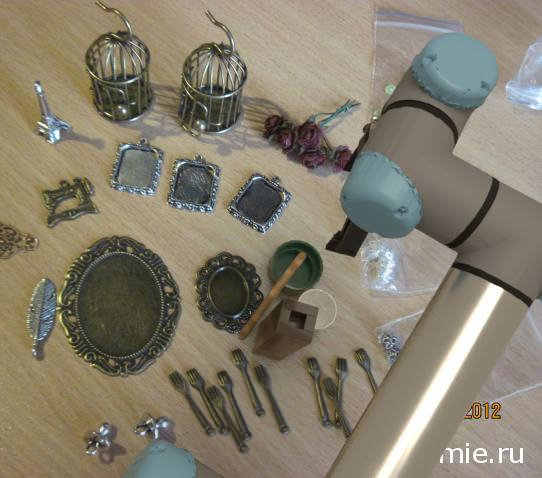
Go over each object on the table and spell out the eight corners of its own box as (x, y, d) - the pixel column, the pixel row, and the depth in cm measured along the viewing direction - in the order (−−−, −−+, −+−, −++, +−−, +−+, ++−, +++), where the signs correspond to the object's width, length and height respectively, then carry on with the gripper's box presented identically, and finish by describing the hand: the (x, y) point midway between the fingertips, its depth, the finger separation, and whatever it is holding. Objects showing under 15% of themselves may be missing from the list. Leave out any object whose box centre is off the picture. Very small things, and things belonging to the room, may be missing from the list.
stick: (309, 255, 110) (244, 341, 113) (304, 252, 111) (240, 337, 114) (304, 253, 109) (239, 339, 112) (300, 249, 110) (235, 335, 113)
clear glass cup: (323, 302, 117) (337, 291, 108) (322, 339, 115) (336, 331, 105) (287, 297, 117) (298, 286, 107) (285, 334, 114) (295, 326, 105)
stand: (279, 361, 112) (311, 343, 88) (251, 352, 112) (275, 332, 88) (286, 332, 114) (319, 307, 90) (258, 324, 114) (284, 297, 90)
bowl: (309, 302, 117) (317, 296, 111) (261, 288, 117) (266, 281, 111) (320, 256, 121) (327, 248, 115) (273, 243, 121) (279, 234, 115)
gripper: (385, 47, 68) (335, 133, 88) (346, 228, 60) (301, 277, 80) (443, 65, 68) (380, 146, 88) (412, 248, 60) (350, 292, 80)
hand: (342, 209), depth 84 cm, fingers open, 13 cm apart
